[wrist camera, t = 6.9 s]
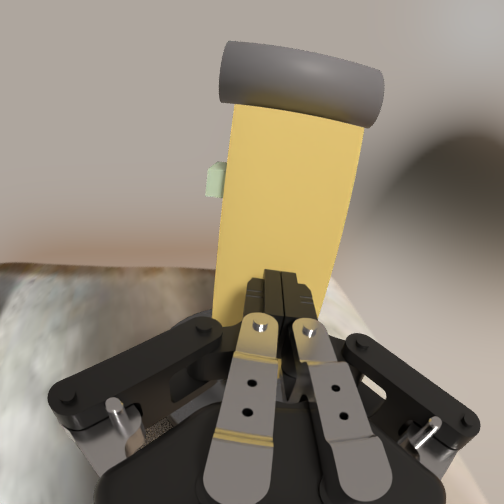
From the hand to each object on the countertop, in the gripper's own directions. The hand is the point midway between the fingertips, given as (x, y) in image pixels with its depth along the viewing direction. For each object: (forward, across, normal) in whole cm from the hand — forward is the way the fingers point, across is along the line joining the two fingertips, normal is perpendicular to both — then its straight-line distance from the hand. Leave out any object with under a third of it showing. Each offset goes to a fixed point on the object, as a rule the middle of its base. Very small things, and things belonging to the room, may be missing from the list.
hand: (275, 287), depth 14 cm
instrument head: (+4, 0, +8) cm, 9 cm away
